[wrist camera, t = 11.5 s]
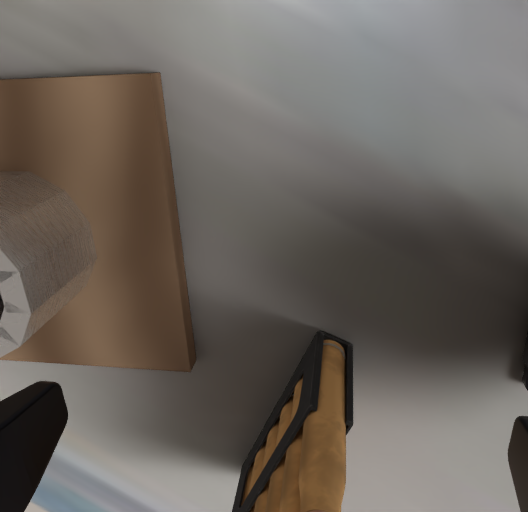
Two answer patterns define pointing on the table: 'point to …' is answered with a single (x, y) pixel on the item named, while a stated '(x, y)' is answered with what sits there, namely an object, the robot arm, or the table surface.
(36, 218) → the tube
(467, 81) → the table surface
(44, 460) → the robot arm
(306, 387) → the ammunition clip
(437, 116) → the table surface
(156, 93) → the post base
